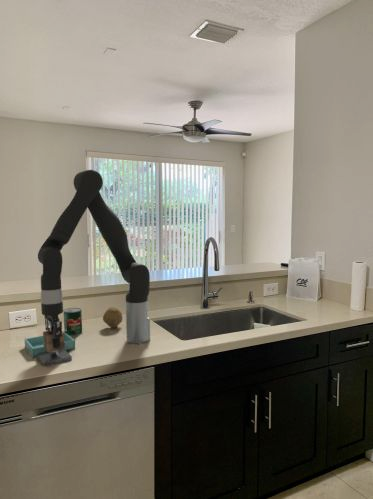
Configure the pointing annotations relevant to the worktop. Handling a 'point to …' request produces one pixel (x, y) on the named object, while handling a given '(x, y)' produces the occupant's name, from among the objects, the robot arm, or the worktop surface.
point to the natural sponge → (112, 317)
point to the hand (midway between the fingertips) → (54, 344)
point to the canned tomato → (73, 321)
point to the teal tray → (37, 345)
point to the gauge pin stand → (54, 357)
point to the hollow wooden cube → (49, 341)
